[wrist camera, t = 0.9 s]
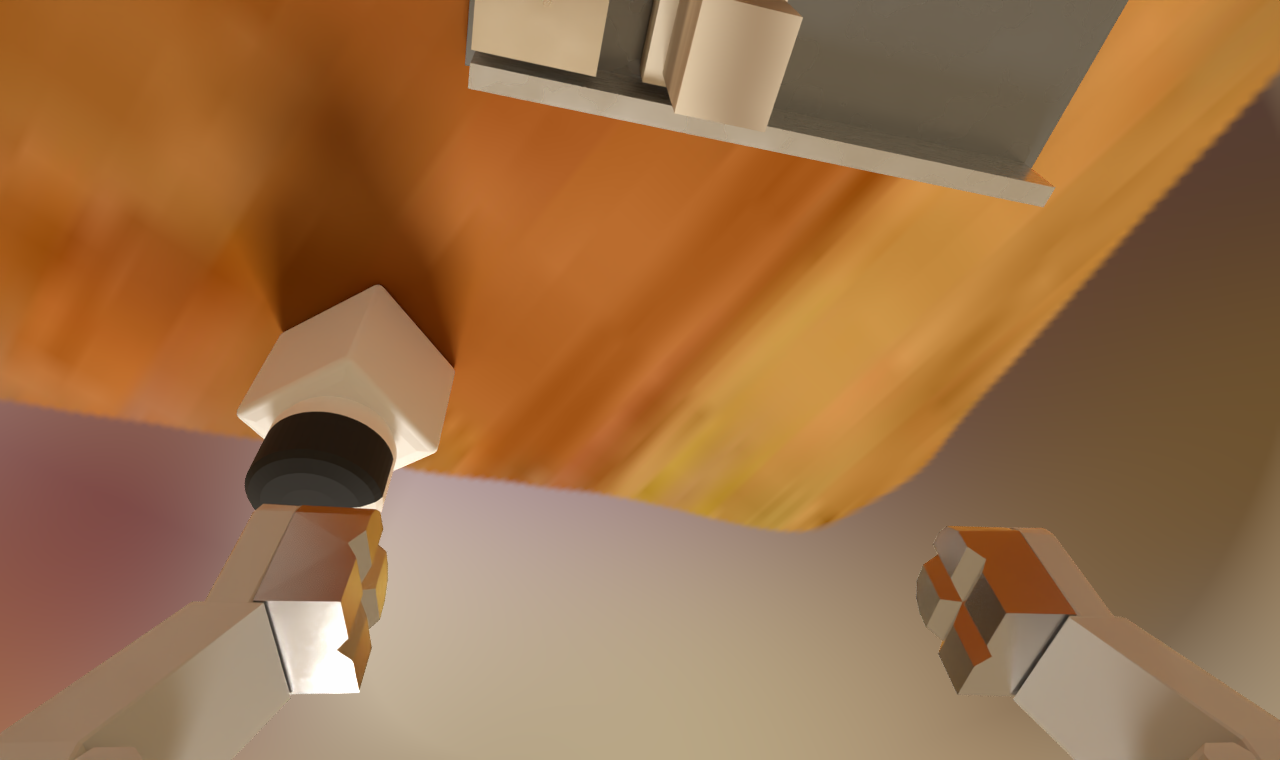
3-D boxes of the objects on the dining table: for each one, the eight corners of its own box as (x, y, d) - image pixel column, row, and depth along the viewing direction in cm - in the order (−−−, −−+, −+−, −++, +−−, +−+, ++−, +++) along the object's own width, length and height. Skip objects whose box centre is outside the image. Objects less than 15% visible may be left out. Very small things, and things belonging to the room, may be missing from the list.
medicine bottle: (279, 332, 41) (187, 489, 31) (380, 279, 39) (316, 429, 30) (363, 414, 45) (305, 574, 35) (458, 370, 43) (423, 526, 34)
